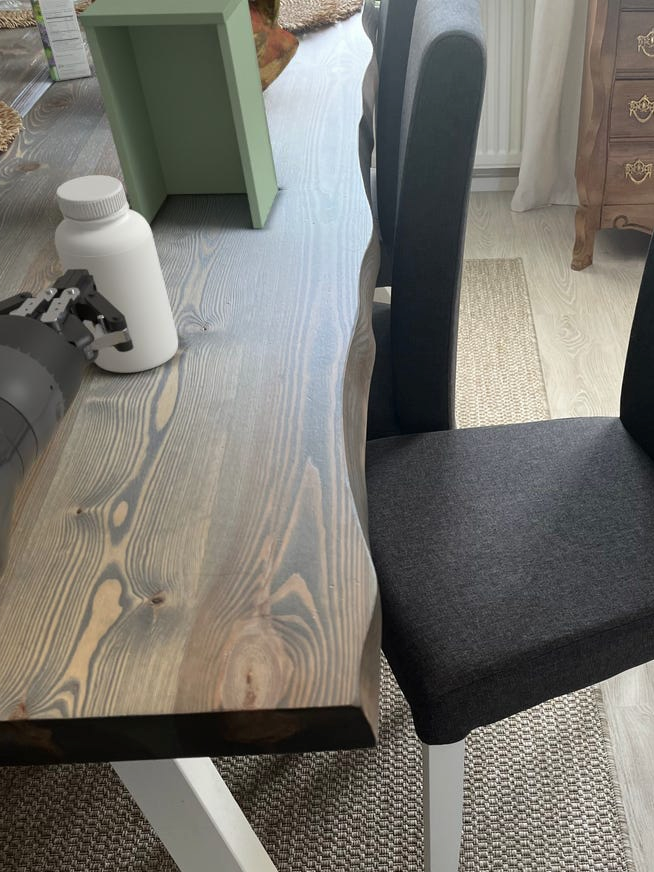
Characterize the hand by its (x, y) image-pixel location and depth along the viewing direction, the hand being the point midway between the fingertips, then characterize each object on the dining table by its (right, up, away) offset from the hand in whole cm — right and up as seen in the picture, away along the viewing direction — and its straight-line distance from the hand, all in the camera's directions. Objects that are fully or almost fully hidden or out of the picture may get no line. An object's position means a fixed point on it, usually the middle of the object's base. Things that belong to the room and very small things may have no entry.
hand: (81, 280), depth 80 cm
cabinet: (+1, +20, +35) cm, 40 cm away
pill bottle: (0, -3, +12) cm, 12 cm away
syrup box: (-30, +57, +72) cm, 97 cm away
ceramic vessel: (-5, +46, +61) cm, 77 cm away
